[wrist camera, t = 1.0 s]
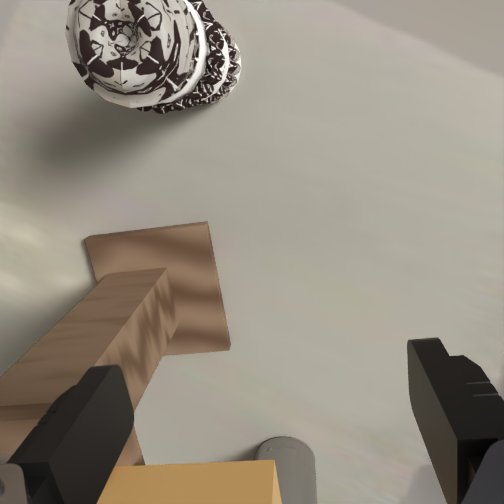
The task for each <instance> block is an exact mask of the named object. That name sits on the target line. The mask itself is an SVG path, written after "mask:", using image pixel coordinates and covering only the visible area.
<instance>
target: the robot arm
mask: <svg viewBox="0 0 504 504" xmlns="http://www.w3.org/2000/svg"><path fill="white" fill-rule="evenodd" d="M407 354H408V378H409V394H410V401H411V406H412V410H413V413H414V416H415V419H416V421H417V424H418V427H419V429H420V432H421V435H422V437H423V440H424V443H425V446H426V448H427V451H428V454H429V456H430V459H431V462H432V464H433V467H434V469H435V472H436V475H437V478H438V480H439V483H440V485H441V488H442V491H443V493H444V496H445V499H446V502H447V504H504V401H503V399H502V398H501V396H499V395H498V392H497V390H496V389H495V387H494V386H493V385H492V384H491V383H490V380H489V379H488V377H487V376H486V374H485V373H484V371H483V370H482V368H481V367H480V366H479V365H477V364H476V363H474V362H473V361H471V360H470V359H468V358H467V357H465V356H464V355H460V356H449V354H448V352H447V351H446V349H445V347H444V346H443V344H442V342H441V341H440V339H439V338H425V339H413V340H408V343H407ZM133 424H134V410H133V406H132V402H131V399H130V396H129V392H128V389H127V385H126V382H125V379H124V375H123V372H122V369H121V367H120V366H119V365H117V364H115V365H103V366H92V367H90V368H89V369H88V370H87V371H86V373H85V374H84V375H83V377H82V378H81V379H80V381H79V382H78V383H77V385H73V386H72V387H70V388H69V389H68V390H67V391H65V392H64V393H63V394H61V395H60V396H59V397H58V398H57V399H56V400H55V401H54V402H53V404H52V405H51V406H50V408H49V409H48V410H47V411H46V414H44V415H43V416H42V418H41V419H40V420H39V422H38V423H37V426H35V427H34V428H33V429H32V431H31V432H30V433H29V434H28V436H27V437H26V438H25V439H24V441H23V442H22V443H21V445H20V446H19V447H18V448H17V450H16V451H15V452H14V454H13V455H12V456H11V457H10V459H9V460H8V461H7V462H6V464H2V465H0V504H97V502H98V500H99V498H100V496H101V494H102V492H103V489H104V487H105V485H106V483H107V481H108V479H109V477H110V475H111V473H112V471H113V469H114V467H115V465H116V463H117V461H118V458H119V456H120V454H121V452H122V450H123V448H124V446H125V444H126V442H127V440H128V438H129V436H130V434H131V431H132V428H133ZM255 460H275V466H276V472H277V478H278V484H279V490H280V496H281V502H282V504H317V490H316V471H315V458H314V455H313V452H312V451H311V450H310V448H309V447H308V446H307V445H306V444H304V443H302V442H301V441H299V440H296V439H294V438H289V437H278V438H273V439H270V440H268V441H266V442H264V443H263V444H262V445H261V446H260V447H259V448H258V450H257V452H256V455H255Z"/></svg>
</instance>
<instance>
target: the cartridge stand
mask: <svg viewBox="0 0 504 504" xmlns="http://www.w3.org/2000/svg"><path fill="white" fill-rule="evenodd" d="M85 242H86V246H87V249H88V253H89V256H90V260H91V263H92V267H93V270H94V274H95V277H96V281H97V284H98V285H97V286H95V287H94V288H93V289H92V290H91V291H90V292H89V293H88V294H87V295H86V296H85V297H84V298H83V299H82V300H81V301H80V302H79V303H78V304H77V305H76V306H75V307H74V308H72V309H71V310H70V311H69V312H68V313H67V314H66V315H65V316H64V317H63V318H62V319H61V320H60V321H59V322H58V323H57V324H56V325H55V326H54V327H53V328H52V329H51V330H49V331H48V332H47V333H46V334H45V335H44V336H43V337H42V338H41V339H40V340H39V341H38V342H37V343H36V344H35V345H34V346H33V347H32V348H31V349H30V350H29V351H28V352H26V353H25V354H24V355H23V356H22V357H21V358H20V359H19V360H18V361H17V362H16V363H15V364H14V365H13V366H12V367H11V368H10V369H9V370H8V371H7V372H6V373H5V374H3V375H2V376H1V377H0V465H2V464H6V462H7V461H8V460H9V459H10V457H11V456H12V455H13V454H14V452H15V451H16V450H17V448H18V447H19V446H20V445H21V443H22V442H23V441H24V439H25V438H26V437H27V436H28V434H29V433H30V432H31V431H32V429H33V428H34V427H35V426H37V423H38V422H39V420H40V419H41V418H42V416H43V415H44V414H46V411H47V410H48V409H49V408H50V406H51V405H52V404H53V402H54V401H55V400H56V399H57V398H58V397H59V396H60V395H61V394H63V393H64V392H65V391H67V390H68V389H69V388H70V387H72V386H73V385H77V383H78V382H79V381H80V379H81V378H82V377H83V375H84V374H85V373H86V371H87V370H88V369H89V368H90V367H92V366H103V365H115V364H117V365H119V366H120V367H121V369H122V372H123V375H124V379H125V382H126V385H127V389H128V392H129V396H130V399H131V402H132V406H133V410H134V411H135V409H136V407H137V405H138V403H139V401H140V399H141V397H142V395H143V393H144V391H145V389H146V388H147V386H148V384H149V382H150V380H151V378H152V376H153V374H154V372H155V370H156V368H157V366H158V364H159V362H160V360H161V358H162V356H165V355H177V354H190V353H202V352H215V351H227V350H230V346H231V343H230V337H229V332H228V327H227V321H226V316H225V311H224V306H223V300H222V295H221V290H220V284H219V279H218V274H217V268H216V263H215V258H214V252H213V247H212V242H211V237H210V231H209V226H208V221H207V222H199V223H190V224H182V225H174V226H166V227H158V228H150V229H141V230H133V231H125V232H117V233H109V234H100V235H92V236H89V237H87V238H86V239H85ZM143 465H145V462H144V459H143V456H142V452H141V449H140V445H139V442H138V438H137V435H136V432H135V428H134V425H133V428H132V431H131V434H130V436H129V438H128V440H127V442H126V444H125V446H124V448H123V450H122V452H121V454H120V456H119V458H118V461H117V463H116V465H115V467H121V466H143Z"/></svg>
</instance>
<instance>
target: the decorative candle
mask: <svg viewBox="0 0 504 504" xmlns="http://www.w3.org/2000/svg"><path fill="white" fill-rule="evenodd" d="M66 38H67V42H68V47H69V51H70V55H71V60H72V62H73V64H74V65H75V67H76V69H77V70H78V72H79V73H80V75H81V77H82V78H83V80H84V82H85V83H86V85H88V86H89V87H90V88H91V89H93V90H94V91H95V92H96V93H98V94H99V95H100V96H101V97H103V98H104V99H105V100H106V101H109V102H112V103H115V104H119V105H122V106H125V107H129V108H135V107H136V108H137V109H138V110H140V111H149V110H151V109H154V111H155V112H156V113H159V114H165V113H167V112H169V111H174V110H183V109H184V108H186V107H188V108H190V107H192V106H197V105H198V106H201V105H206V104H209V103H210V104H213V103H217V102H218V101H220V100H221V99H223V98H225V97H226V96H228V95H229V94H230V93H231V91H232V90H233V89H234V87H235V86H236V85H237V83H238V80H239V76H240V72H241V59H240V51H239V49H238V47H237V45H236V44H235V41H234V39H233V38H232V37H231V36H230V35H229V33H228V31H227V30H226V29H225V28H224V27H222V26H221V25H220V24H219V23H218V22H216V20H215V19H214V18H213V17H212V15H211V13H210V11H209V10H208V9H207V8H206V7H205V5H204V3H203V1H202V0H71V2H70V4H69V7H68V16H67V25H66Z"/></svg>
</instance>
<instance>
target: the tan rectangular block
mask: <svg viewBox="0 0 504 504" xmlns="http://www.w3.org/2000/svg"><path fill="white" fill-rule="evenodd" d="M97 504H282V502H281V496H280V490H279V484H278V478H277V472H276V466H275V460H255V461H233V462H210V463H188V464H166V465H143V466H121V467H114V469H113V471H112V473H111V475H110V477H109V479H108V481H107V483H106V485H105V487H104V489H103V492H102V494H101V496H100V498H99V500H98V502H97Z"/></svg>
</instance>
